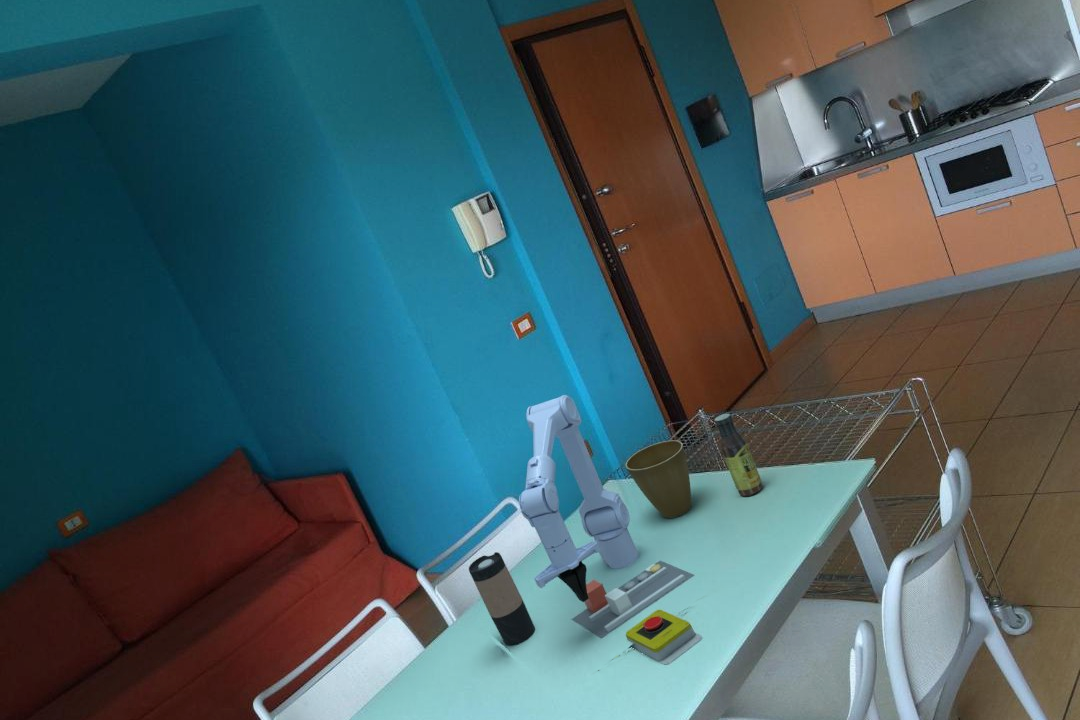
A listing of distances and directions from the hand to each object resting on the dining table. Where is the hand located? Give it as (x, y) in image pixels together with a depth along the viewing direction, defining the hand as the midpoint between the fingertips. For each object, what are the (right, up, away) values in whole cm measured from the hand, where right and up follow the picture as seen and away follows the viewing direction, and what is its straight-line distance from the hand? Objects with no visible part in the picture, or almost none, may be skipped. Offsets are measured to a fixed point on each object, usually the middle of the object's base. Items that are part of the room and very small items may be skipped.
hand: (583, 599), depth 185 cm
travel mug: (-13, -13, +13) cm, 22 cm away
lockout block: (+4, -4, +9) cm, 11 cm away
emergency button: (+15, -6, -11) cm, 19 cm away
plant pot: (+25, +11, +43) cm, 51 cm away
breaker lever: (+8, -3, +4) cm, 9 cm away
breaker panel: (+11, -3, +8) cm, 14 cm away
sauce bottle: (+42, +17, +36) cm, 58 cm away
